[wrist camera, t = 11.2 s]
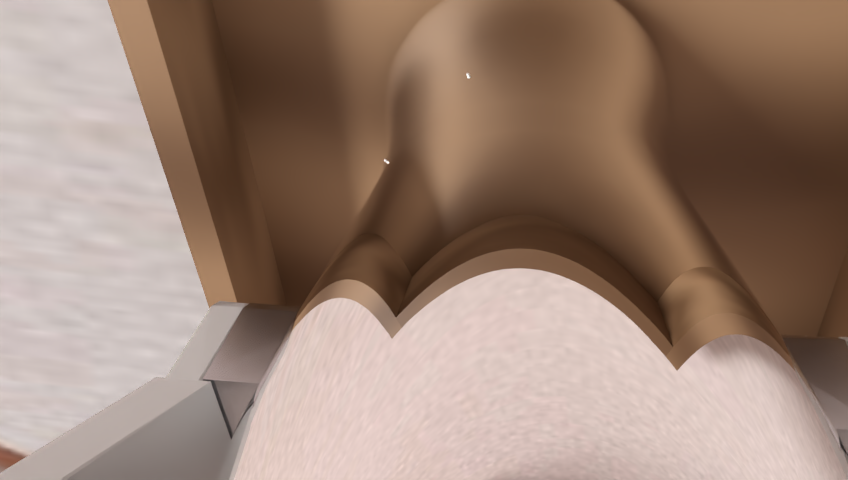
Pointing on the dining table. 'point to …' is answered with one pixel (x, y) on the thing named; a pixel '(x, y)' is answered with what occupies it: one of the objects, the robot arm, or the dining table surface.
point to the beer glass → (531, 285)
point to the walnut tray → (366, 147)
